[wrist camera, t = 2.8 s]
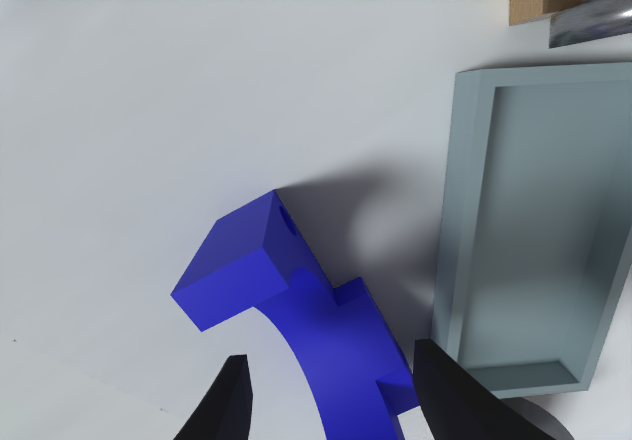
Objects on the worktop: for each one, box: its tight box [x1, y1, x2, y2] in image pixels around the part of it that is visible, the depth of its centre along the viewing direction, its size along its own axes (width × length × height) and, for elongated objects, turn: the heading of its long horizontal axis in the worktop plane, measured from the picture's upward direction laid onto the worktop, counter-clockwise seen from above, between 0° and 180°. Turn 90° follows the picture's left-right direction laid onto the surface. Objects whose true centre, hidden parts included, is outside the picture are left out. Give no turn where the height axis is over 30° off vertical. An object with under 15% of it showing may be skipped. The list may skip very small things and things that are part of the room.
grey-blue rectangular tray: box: [430, 62, 632, 399], centre depth 15 cm, size 16×8×2 cm, turn 3°
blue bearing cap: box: [171, 190, 420, 440], centre depth 14 cm, size 12×4×6 cm, turn 28°
